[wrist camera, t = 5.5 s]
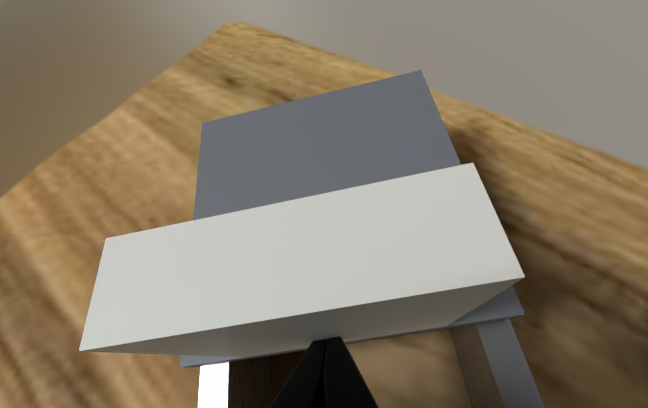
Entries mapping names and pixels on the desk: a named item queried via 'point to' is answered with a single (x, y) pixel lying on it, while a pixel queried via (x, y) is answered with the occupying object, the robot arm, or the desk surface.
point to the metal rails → (472, 351)
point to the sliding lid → (312, 236)
